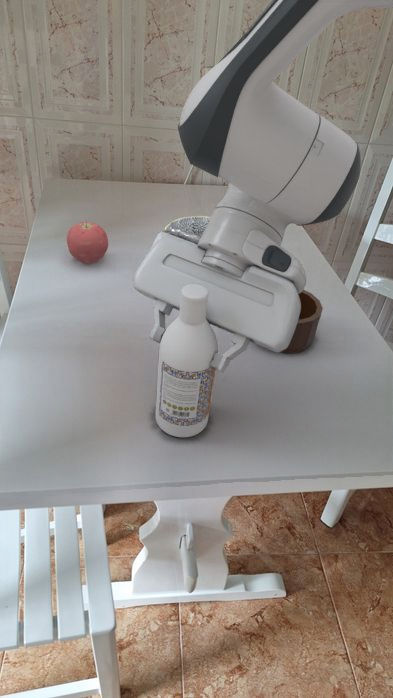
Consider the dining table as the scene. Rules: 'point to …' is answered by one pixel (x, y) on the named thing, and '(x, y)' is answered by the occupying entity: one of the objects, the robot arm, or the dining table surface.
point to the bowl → (190, 224)
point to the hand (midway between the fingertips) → (186, 355)
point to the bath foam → (186, 367)
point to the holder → (305, 323)
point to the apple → (87, 242)
